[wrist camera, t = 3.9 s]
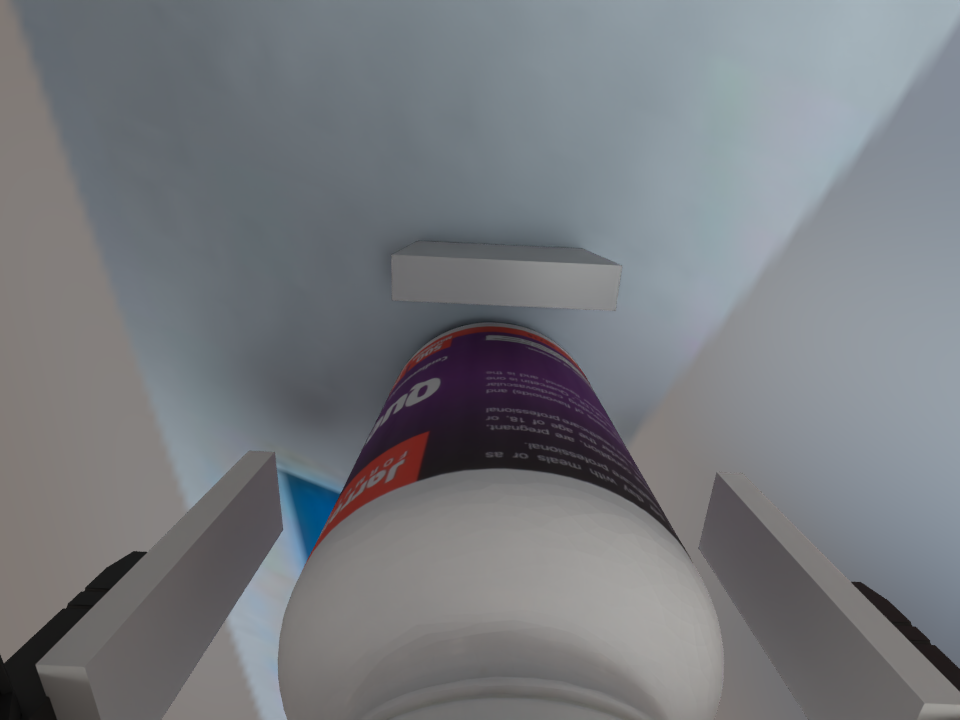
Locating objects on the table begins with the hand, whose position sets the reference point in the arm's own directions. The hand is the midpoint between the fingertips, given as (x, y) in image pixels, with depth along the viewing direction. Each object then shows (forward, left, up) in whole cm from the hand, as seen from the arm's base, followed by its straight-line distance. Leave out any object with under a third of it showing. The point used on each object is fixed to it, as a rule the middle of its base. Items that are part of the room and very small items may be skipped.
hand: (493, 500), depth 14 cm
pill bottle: (0, 0, -6) cm, 6 cm away
